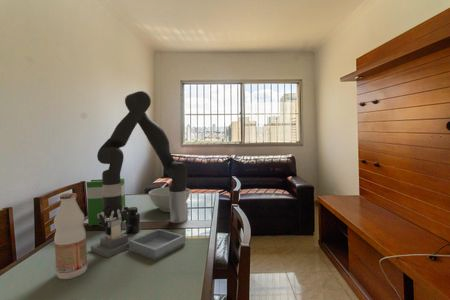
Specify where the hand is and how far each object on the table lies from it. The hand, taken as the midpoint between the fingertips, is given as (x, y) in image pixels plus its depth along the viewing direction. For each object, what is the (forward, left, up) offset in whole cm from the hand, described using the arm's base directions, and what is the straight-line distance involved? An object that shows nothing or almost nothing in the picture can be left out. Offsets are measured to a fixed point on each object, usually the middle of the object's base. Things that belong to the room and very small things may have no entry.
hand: (113, 233), depth 109 cm
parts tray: (-10, +16, -6) cm, 20 cm away
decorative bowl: (-54, -22, -7) cm, 59 cm away
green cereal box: (-17, -33, -7) cm, 38 cm away
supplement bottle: (-16, -9, -7) cm, 19 cm away
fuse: (0, 0, -4) cm, 4 cm away
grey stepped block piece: (0, 0, -6) cm, 6 cm away
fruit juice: (+20, +6, -7) cm, 22 cm away
